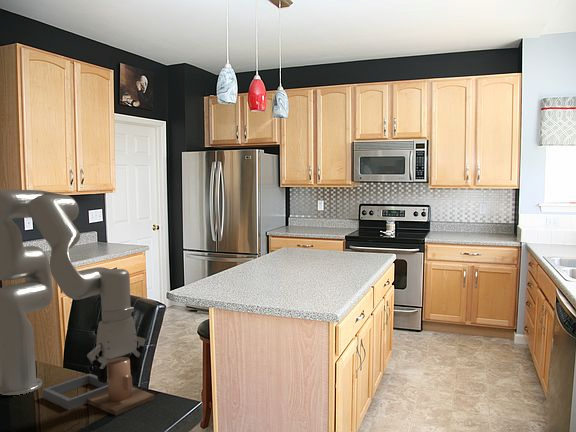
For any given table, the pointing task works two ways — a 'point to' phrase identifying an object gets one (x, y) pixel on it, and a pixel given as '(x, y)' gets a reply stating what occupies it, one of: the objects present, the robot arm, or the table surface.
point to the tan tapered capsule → (119, 379)
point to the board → (120, 406)
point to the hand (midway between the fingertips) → (118, 376)
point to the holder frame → (55, 391)
